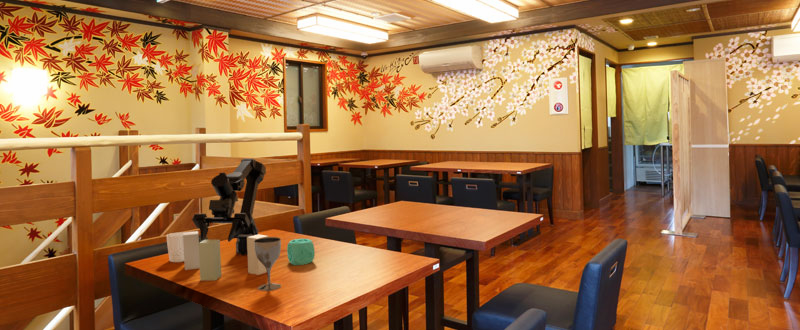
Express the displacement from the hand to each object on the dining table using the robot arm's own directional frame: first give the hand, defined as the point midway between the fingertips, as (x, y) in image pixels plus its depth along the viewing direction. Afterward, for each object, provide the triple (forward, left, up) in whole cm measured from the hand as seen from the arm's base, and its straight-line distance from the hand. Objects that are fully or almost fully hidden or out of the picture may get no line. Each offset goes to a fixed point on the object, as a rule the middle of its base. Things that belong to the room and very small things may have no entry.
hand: (215, 241), depth 170 cm
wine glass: (-8, +26, -12) cm, 29 cm away
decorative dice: (-29, +6, -12) cm, 32 cm away
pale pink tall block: (+4, -14, -11) cm, 19 cm away
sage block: (+3, +4, -11) cm, 12 cm away
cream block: (-12, +8, -11) cm, 18 cm away
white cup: (+5, -28, -12) cm, 31 cm away
